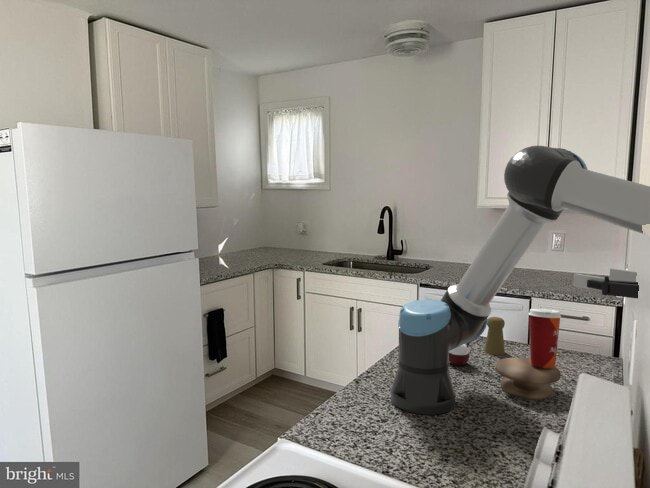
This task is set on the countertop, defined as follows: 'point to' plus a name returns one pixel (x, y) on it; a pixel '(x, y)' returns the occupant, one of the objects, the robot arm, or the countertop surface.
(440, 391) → the robot arm
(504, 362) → the pedestal stand
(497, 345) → the cork
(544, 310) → the paper cup
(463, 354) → the cocoa
